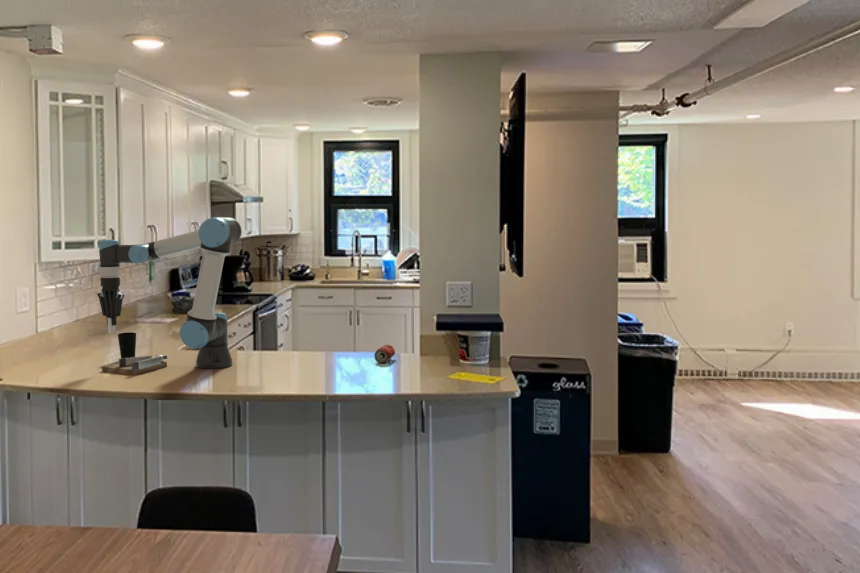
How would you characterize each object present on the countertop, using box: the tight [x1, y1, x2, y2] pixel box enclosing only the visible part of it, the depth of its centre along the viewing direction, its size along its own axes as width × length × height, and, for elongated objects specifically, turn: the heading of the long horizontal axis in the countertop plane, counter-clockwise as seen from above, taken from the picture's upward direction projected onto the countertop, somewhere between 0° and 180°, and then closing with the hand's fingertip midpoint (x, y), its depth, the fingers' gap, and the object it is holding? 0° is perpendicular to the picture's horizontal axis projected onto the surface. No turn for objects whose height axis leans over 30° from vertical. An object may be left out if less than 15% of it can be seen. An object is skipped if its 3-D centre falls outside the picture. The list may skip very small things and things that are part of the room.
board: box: [101, 361, 168, 376], centre depth 318 cm, size 18×18×2 cm
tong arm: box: [118, 354, 153, 366], centre depth 317 cm, size 1×13×3 cm, turn 126°
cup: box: [117, 331, 137, 359], centre depth 336 cm, size 8×8×12 cm
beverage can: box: [374, 344, 396, 364], centre depth 332 cm, size 7×12×7 cm, turn 169°
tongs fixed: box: [132, 354, 168, 370], centre depth 315 cm, size 4×20×3 cm, turn 156°
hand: (112, 332), depth 316 cm, fingers closed
